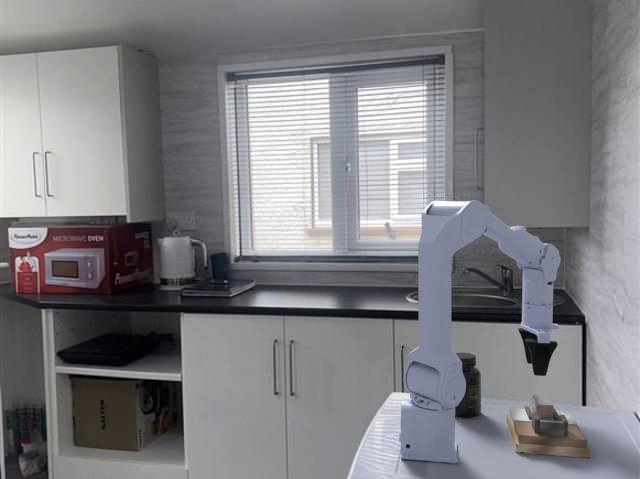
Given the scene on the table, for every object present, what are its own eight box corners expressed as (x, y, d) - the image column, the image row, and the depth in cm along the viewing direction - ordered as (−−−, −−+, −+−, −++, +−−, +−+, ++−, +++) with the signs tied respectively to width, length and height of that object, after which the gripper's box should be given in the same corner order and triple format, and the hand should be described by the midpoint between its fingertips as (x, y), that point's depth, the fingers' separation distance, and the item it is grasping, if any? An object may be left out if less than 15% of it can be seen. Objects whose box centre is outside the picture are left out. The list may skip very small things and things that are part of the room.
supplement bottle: (477, 406, 118) (478, 351, 117) (483, 419, 111) (484, 360, 110) (444, 405, 119) (445, 350, 118) (448, 418, 112) (449, 360, 111)
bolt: (535, 419, 104) (536, 404, 103) (531, 408, 108) (531, 394, 108) (553, 420, 103) (553, 405, 103) (547, 409, 108) (548, 395, 108)
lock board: (515, 452, 97) (516, 421, 97) (506, 422, 110) (507, 394, 110) (590, 458, 95) (591, 426, 95) (571, 426, 108) (572, 398, 107)
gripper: (567, 310, 104) (565, 382, 105) (550, 296, 118) (549, 359, 119) (527, 309, 105) (526, 380, 106) (515, 295, 119) (514, 357, 121)
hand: (536, 369), depth 113 cm, fingers open, 7 cm apart
